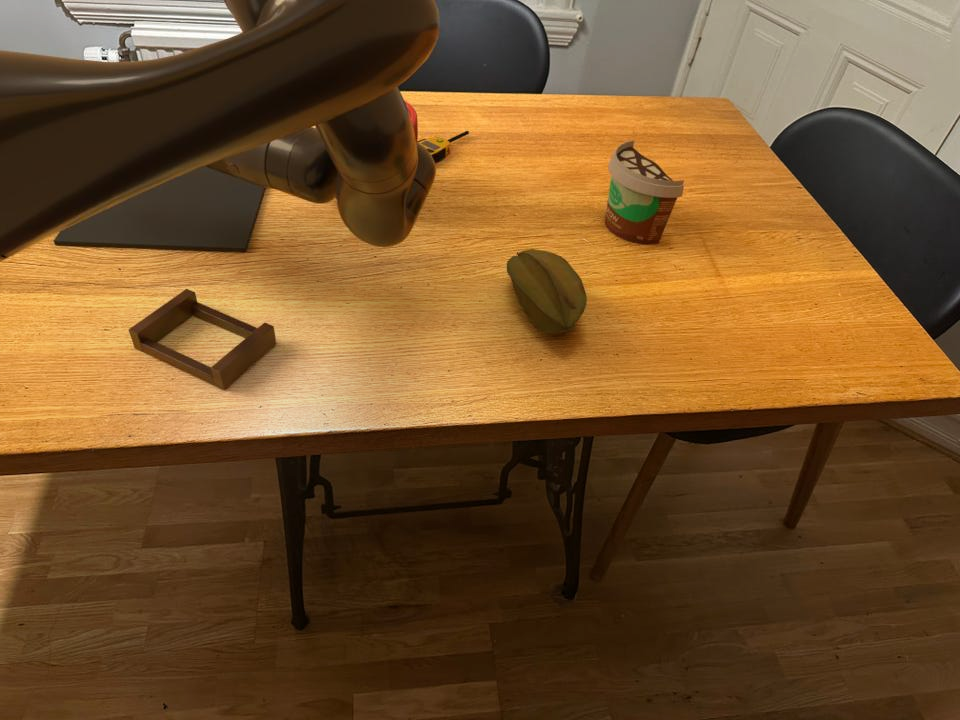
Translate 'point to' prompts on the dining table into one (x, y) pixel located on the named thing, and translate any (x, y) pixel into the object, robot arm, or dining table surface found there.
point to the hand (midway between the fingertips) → (127, 101)
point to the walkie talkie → (439, 146)
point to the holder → (187, 305)
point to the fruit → (547, 290)
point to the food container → (639, 196)
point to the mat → (176, 216)
